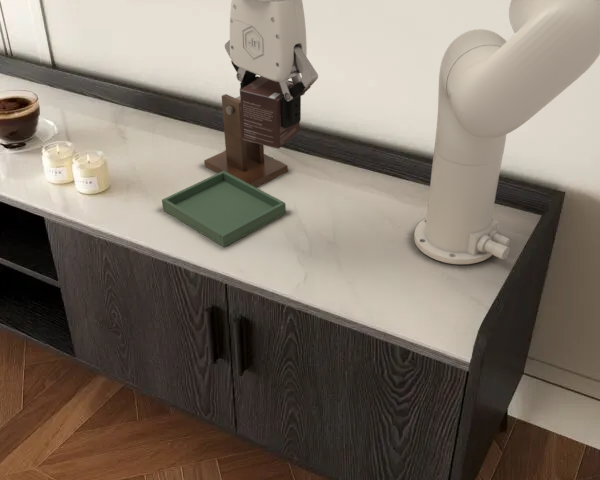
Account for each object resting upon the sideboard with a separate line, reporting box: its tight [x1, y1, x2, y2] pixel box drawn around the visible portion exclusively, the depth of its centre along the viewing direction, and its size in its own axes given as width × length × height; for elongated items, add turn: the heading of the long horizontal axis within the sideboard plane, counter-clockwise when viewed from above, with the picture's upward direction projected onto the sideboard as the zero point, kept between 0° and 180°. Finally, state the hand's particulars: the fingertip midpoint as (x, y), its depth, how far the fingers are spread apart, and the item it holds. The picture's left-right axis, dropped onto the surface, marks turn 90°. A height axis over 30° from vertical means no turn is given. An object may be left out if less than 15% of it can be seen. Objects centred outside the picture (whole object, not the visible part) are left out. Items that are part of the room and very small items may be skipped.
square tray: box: [161, 171, 287, 248], centre depth 123 cm, size 15×13×2 cm
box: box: [239, 76, 301, 150], centre depth 103 cm, size 6×6×7 cm
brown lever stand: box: [203, 88, 289, 188], centre depth 130 cm, size 12×9×14 cm
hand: (270, 115), depth 104 cm, fingers closed on box, 6 cm apart
